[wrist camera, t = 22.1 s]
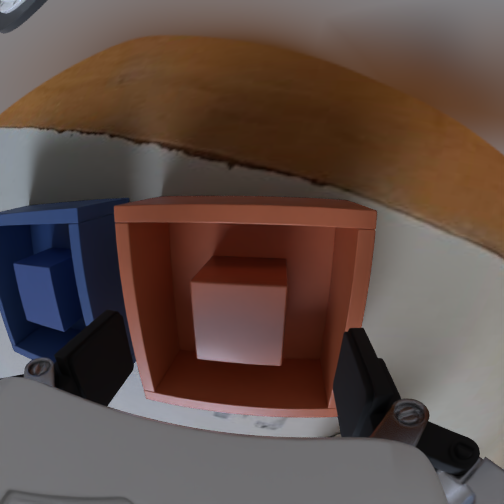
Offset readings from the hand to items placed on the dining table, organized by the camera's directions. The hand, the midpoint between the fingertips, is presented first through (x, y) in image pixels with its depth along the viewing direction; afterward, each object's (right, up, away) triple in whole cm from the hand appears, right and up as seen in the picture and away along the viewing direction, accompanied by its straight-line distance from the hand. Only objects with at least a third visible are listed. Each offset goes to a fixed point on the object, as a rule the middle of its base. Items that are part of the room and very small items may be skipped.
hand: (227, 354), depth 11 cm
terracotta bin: (+1, +2, +7) cm, 8 cm away
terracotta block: (+1, +2, +7) cm, 7 cm away
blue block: (-13, +2, +8) cm, 16 cm away
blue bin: (-13, +2, +9) cm, 16 cm away
